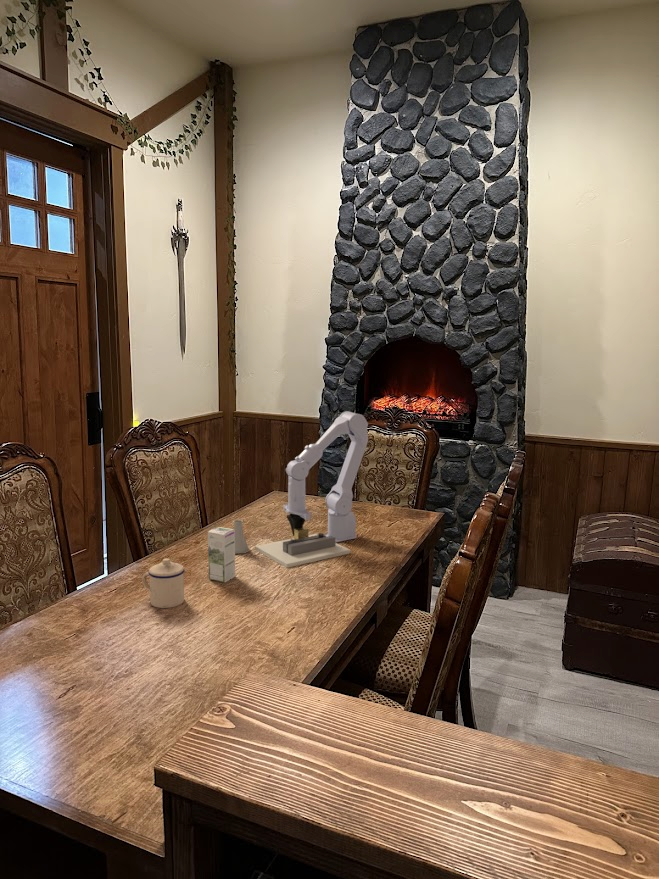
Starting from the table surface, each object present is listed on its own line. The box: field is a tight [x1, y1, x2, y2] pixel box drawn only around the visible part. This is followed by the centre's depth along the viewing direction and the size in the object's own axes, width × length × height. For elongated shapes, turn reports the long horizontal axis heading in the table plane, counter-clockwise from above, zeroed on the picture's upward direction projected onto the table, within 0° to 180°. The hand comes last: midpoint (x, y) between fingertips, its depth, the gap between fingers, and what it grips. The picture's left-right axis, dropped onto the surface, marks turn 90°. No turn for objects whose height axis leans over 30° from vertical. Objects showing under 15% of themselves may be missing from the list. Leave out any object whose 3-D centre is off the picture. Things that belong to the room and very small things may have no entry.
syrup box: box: [207, 526, 236, 584], centre depth 184 cm, size 6×6×14 cm
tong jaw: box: [283, 532, 326, 553], centre depth 208 cm, size 15×2×4 cm, turn 125°
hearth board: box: [254, 533, 351, 569], centre depth 208 cm, size 24×20×4 cm
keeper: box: [293, 526, 309, 540], centre depth 214 cm, size 4×2×4 cm, turn 125°
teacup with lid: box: [141, 558, 186, 609], centre depth 168 cm, size 12×9×12 cm
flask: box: [232, 519, 250, 555], centre depth 208 cm, size 7×7×10 cm
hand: (296, 535), depth 217 cm, fingers closed
